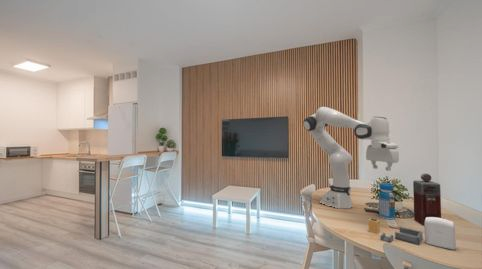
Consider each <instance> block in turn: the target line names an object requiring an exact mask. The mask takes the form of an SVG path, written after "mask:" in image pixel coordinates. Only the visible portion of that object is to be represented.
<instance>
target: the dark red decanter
mask: <svg viewBox="0 0 482 269" xmlns="http://www.w3.org/2000/svg"><path fill="white" fill-rule="evenodd" d="M420 179H421V180H413V183H412V185H413V190H412V192H413V220H414V221H415V222H416V223H418V224H419V225H421V226H423V227H425V224H424V222H425V219H426V217H438V218H442V201H441V200H442V198H441V195H442V194H441V192H442V191H441V184H440V183H437V182H435V181H432V176H431V175H430V174H429V173H422V174H421V175H420Z"/></svg>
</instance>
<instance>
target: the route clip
mask: <svg viewBox="0 0 482 269" xmlns="http://www.w3.org/2000/svg"><path fill="white" fill-rule="evenodd" d="M393 240H394V235H393V234H390V236H386V233H385V232H383V233H381V235H380V241H382V242H386V243H389V244H391V243H392V242H393Z"/></svg>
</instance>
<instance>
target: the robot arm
mask: <svg viewBox="0 0 482 269" xmlns="http://www.w3.org/2000/svg"><path fill="white" fill-rule="evenodd" d="M302 123H303V124H302V125H303V127H304V129H305V130H306V131H307V132H310V134H311V137H312V138H313V140H314V141H315V143H316V144H317V145H318V146H319V147H320V149H321V150H322V151H323V152H324V153H326V154H327V155H329V157H328V163H329V165H330V167H331V173H332V185H330V186H329V189H330V190H328V191H326V193H324V194H323V195H322V199H320V200H319V201H321V202H318V204H319V203H322V204H321V205H323V204H326V205H329V206H332V207H331V208H333V207H335V208H334V209H337V208H338V209H351V207H352V206H353V203H352V200H351V199H352V198H351V192H352V190H351V184H350V174H349V170H348V166H349V165H350V164H351V162H352V161H353V156H352V154H351V153H350V152H348V151H347V150H346V149H345V148H344V147H343V146H342V145H341V144H339V143H338V142H336V140H335V139H334V138H333V137H332V136H331V135H330V133H329V132H328V131H327V130H326V128H325V127H328V126H332V127H335V128H349V129H352V130H353V133H354V136H355V137H356V138H357V139H358V140H359V139H360V140H371V144H368V146H367V147H366V152H365V153H366V154H365V159H366V160H367V161H370V162H371V165H372V168H373V169H375V170H377V169H378V165H377V164H376V163H377V162H380V163H381V162H383V163H386V164H387V166H386V167H385V170H386V171H387V172H389V171H391V170H392V168H391V167H392V166H393V164H396V163H398V162H399V161H400V155H399V149H398V148H399V144H397V143H395V142H393V141H390V136H389V135H390V124H389V119H388V118H387V117H385V116H384V117H383V116H372V117H371V118H370V119H368V120H366V121H365V122H364V121H361V120H358V119H355V118H352V116H349V115H347V114H345V113H342V112H340V111H339V110H336V109H334V108H331V107H327V106H321V107H319V108H317V110H316V112H315V113H313V114H311V115H310V116H308V117H306V118H304V120H303V121H302ZM326 205H325V206H326ZM329 206H328V207H329ZM352 208H353V207H352Z"/></svg>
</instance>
